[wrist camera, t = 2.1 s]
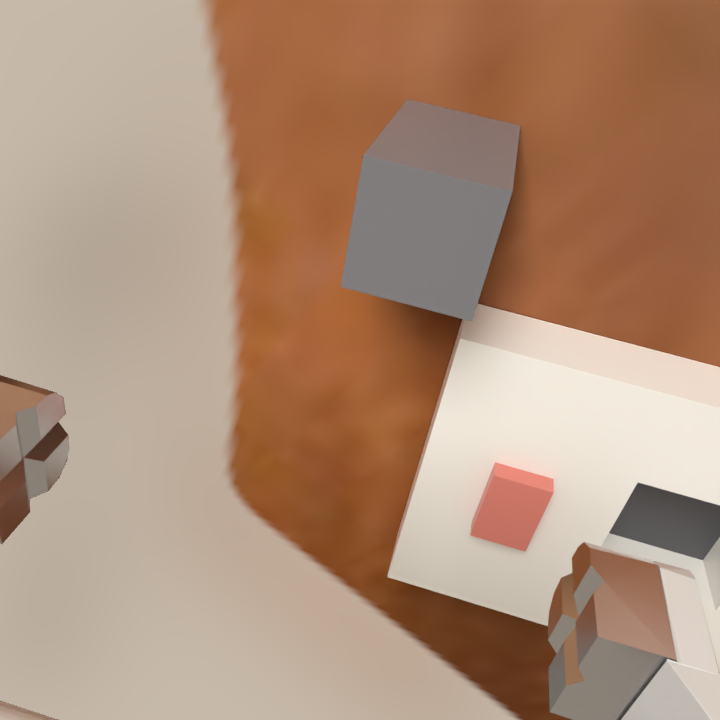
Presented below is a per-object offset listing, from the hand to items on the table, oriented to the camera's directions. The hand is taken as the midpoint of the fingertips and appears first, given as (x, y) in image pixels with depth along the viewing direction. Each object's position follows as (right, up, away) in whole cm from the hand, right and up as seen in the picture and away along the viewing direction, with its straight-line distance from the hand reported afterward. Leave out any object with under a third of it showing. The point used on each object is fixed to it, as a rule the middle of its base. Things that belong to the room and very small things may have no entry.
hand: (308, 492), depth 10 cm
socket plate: (+12, -3, +20) cm, 23 cm away
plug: (+4, +9, +14) cm, 17 cm away
